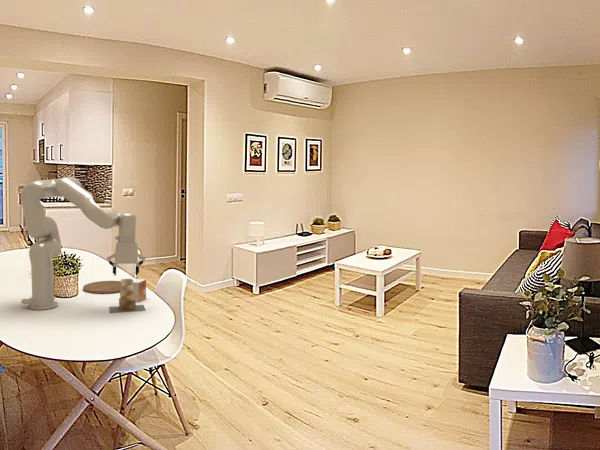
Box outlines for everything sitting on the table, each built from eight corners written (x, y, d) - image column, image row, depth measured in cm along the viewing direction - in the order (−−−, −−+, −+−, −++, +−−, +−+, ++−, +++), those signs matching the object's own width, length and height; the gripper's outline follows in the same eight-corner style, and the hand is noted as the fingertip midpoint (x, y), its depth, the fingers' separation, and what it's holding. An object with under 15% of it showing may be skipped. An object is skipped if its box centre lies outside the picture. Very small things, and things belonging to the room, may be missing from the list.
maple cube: (121, 291, 248) (121, 281, 247) (121, 289, 252) (121, 279, 252) (133, 291, 249) (133, 280, 249) (132, 288, 254) (132, 278, 254)
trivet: (140, 286, 298) (140, 283, 298) (111, 296, 275) (111, 293, 275) (104, 282, 307) (104, 279, 306) (72, 291, 283) (72, 288, 283)
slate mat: (110, 313, 244) (110, 313, 244) (108, 307, 254) (108, 306, 254) (145, 311, 250) (145, 310, 250) (143, 305, 260) (143, 304, 260)
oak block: (121, 301, 248) (121, 292, 247) (120, 298, 253) (120, 289, 253) (134, 300, 250) (134, 291, 249) (133, 297, 255) (133, 288, 255)
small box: (138, 303, 264) (138, 282, 262) (128, 302, 265) (128, 281, 263) (146, 299, 271) (146, 279, 270) (136, 298, 272) (136, 278, 271)
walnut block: (120, 311, 247) (120, 301, 247) (119, 307, 254) (119, 298, 253) (135, 310, 250) (135, 300, 250) (134, 306, 256) (134, 297, 256)
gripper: (107, 240, 241) (106, 276, 243) (146, 240, 248) (145, 276, 250) (106, 237, 248) (106, 273, 250) (145, 238, 255) (143, 272, 257)
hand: (125, 274), depth 250 cm, fingers open, 9 cm apart
